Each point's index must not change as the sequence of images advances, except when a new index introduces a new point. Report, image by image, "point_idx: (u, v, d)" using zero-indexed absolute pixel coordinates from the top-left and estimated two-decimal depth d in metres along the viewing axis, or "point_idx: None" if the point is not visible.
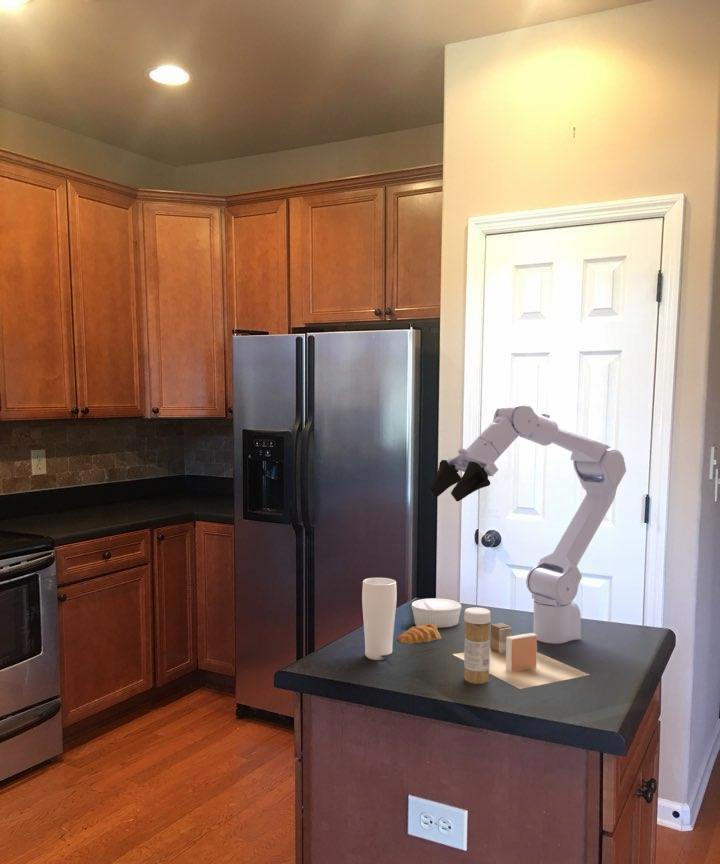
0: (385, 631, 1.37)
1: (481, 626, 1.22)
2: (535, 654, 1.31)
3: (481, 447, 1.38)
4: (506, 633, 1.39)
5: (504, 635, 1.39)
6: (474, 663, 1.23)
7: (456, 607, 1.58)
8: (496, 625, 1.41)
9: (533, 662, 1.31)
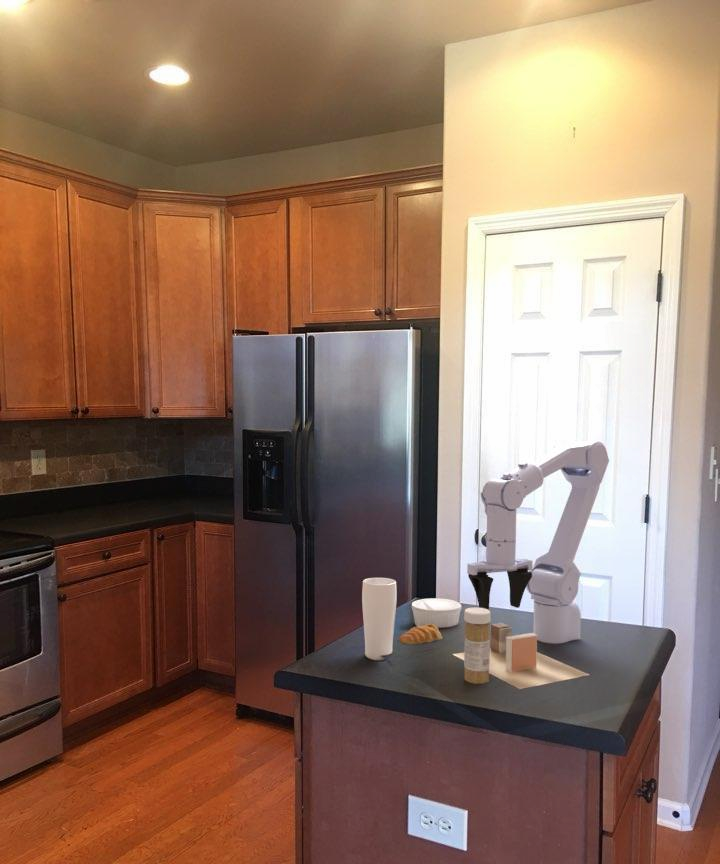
0: (385, 631, 1.37)
1: (481, 626, 1.22)
2: (535, 654, 1.31)
3: (515, 550, 1.39)
4: (506, 633, 1.39)
5: (504, 635, 1.39)
6: (474, 663, 1.23)
7: (456, 607, 1.58)
8: (496, 625, 1.41)
9: (533, 662, 1.31)
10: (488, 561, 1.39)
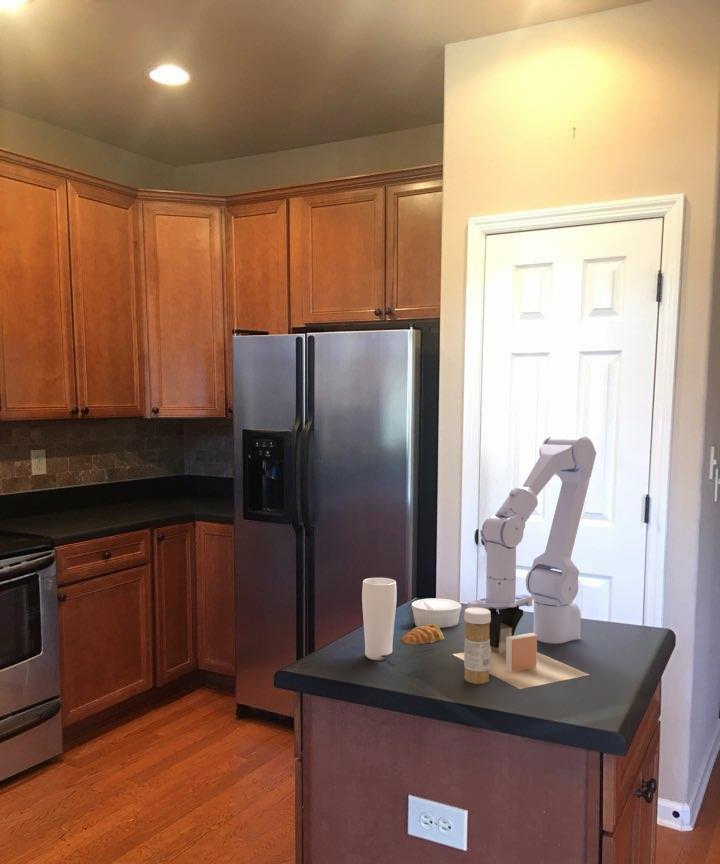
0: (385, 631, 1.37)
1: (481, 626, 1.22)
2: (535, 654, 1.31)
3: (515, 587, 1.40)
4: (506, 633, 1.39)
5: (504, 635, 1.39)
6: (474, 663, 1.23)
7: (456, 607, 1.58)
8: None
9: (533, 662, 1.31)
10: (488, 599, 1.39)
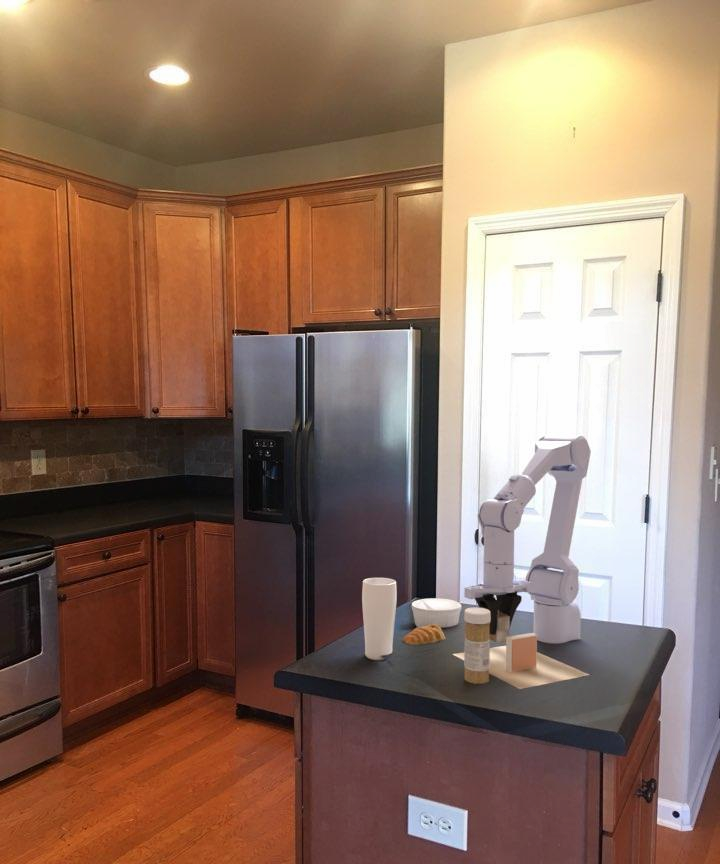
0: (385, 631, 1.37)
1: (481, 626, 1.22)
2: (535, 654, 1.31)
3: (513, 572, 1.36)
4: (504, 622, 1.35)
5: (502, 624, 1.35)
6: (474, 663, 1.23)
7: (456, 607, 1.58)
8: None
9: (533, 662, 1.31)
10: (486, 584, 1.35)
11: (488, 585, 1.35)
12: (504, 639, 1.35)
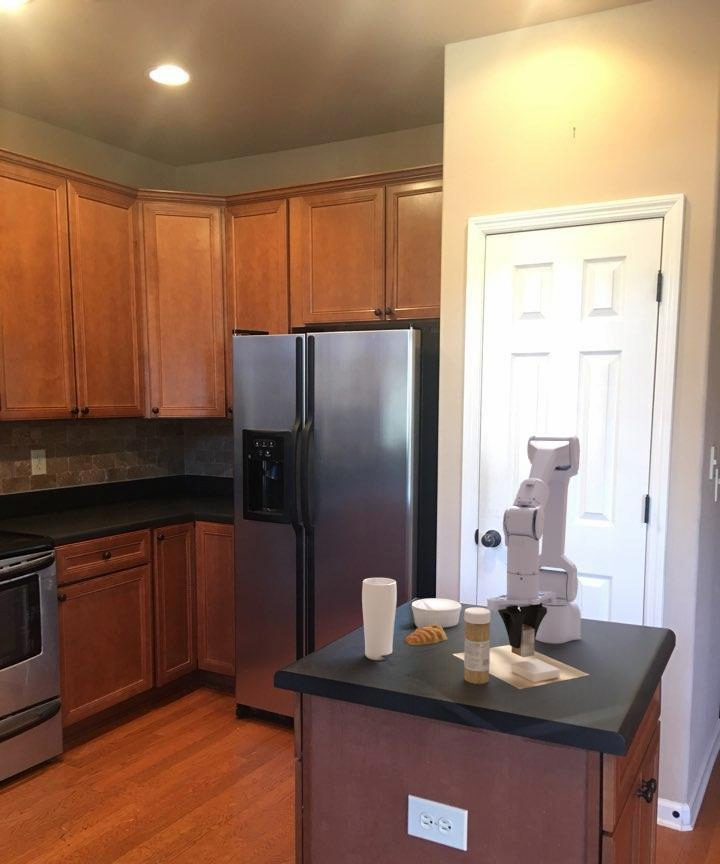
0: (385, 631, 1.37)
1: (481, 626, 1.22)
2: None
3: (538, 583, 1.29)
4: (528, 635, 1.29)
5: (526, 637, 1.28)
6: (474, 663, 1.23)
7: (456, 607, 1.58)
8: None
9: None
10: (509, 595, 1.29)
11: (512, 596, 1.29)
12: (529, 653, 1.29)
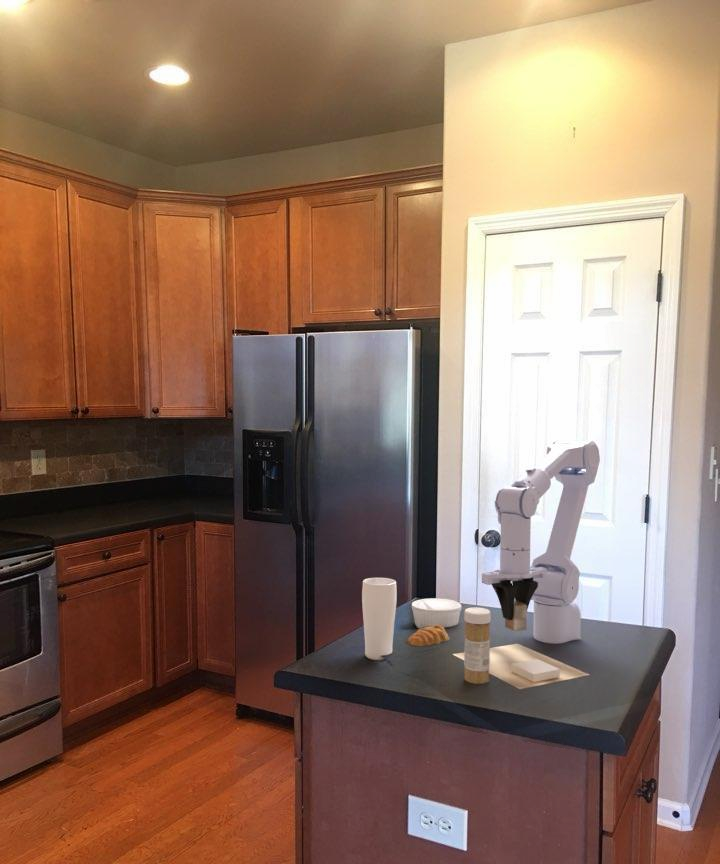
0: (385, 631, 1.37)
1: (481, 626, 1.22)
2: None
3: (529, 558, 1.37)
4: (521, 610, 1.37)
5: (519, 612, 1.36)
6: (474, 663, 1.23)
7: (456, 607, 1.58)
8: None
9: None
10: (502, 570, 1.37)
11: (505, 571, 1.37)
12: (521, 627, 1.37)
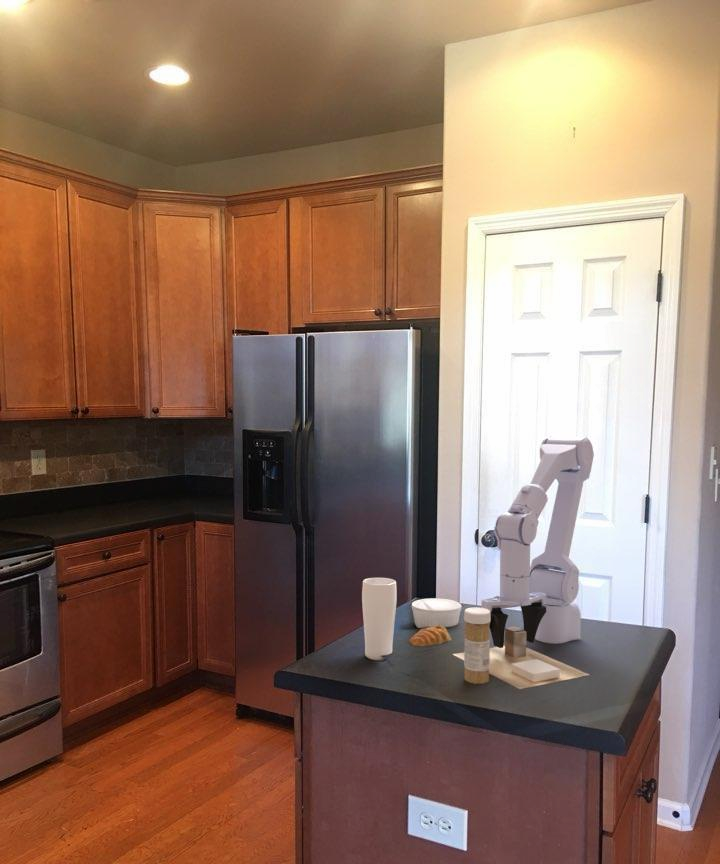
0: (385, 631, 1.37)
1: (481, 626, 1.22)
2: None
3: (529, 585, 1.37)
4: (521, 637, 1.37)
5: (519, 639, 1.36)
6: (474, 663, 1.23)
7: (456, 607, 1.58)
8: (510, 629, 1.38)
9: None
10: (502, 596, 1.37)
11: (505, 597, 1.37)
12: (521, 654, 1.37)
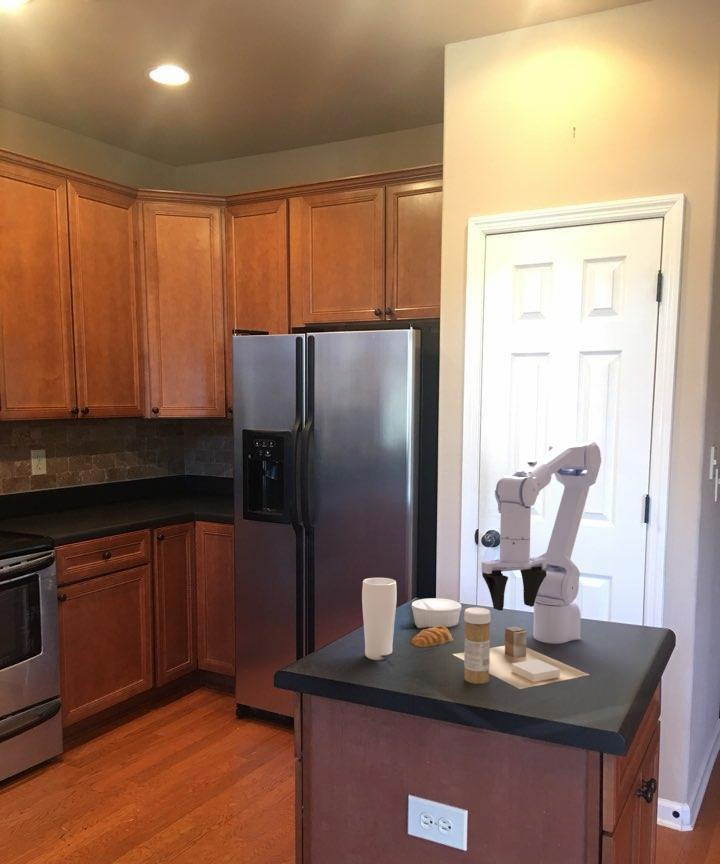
0: (385, 631, 1.37)
1: (481, 626, 1.22)
2: None
3: (529, 548, 1.37)
4: (521, 637, 1.37)
5: (519, 639, 1.36)
6: (474, 663, 1.23)
7: (456, 607, 1.58)
8: (510, 629, 1.38)
9: None
10: (502, 559, 1.37)
11: (505, 560, 1.36)
12: (521, 654, 1.37)
